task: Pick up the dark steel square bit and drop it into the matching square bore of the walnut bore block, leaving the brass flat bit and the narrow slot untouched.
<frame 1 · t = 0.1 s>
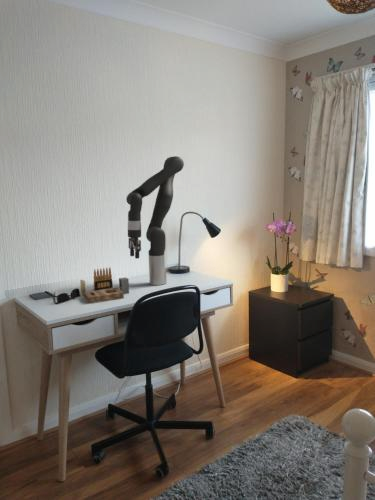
hand: (134, 257, 230), 17 cm above the table, tool pointing down, fingers open, 8 cm apart
square bit: (124, 293, 220), on the table
ammunition clip: (103, 289, 230), on the table
flat bit: (83, 295, 217), on the table
sunglasses: (60, 299, 212), on the table
bore block: (103, 298, 211), on the table
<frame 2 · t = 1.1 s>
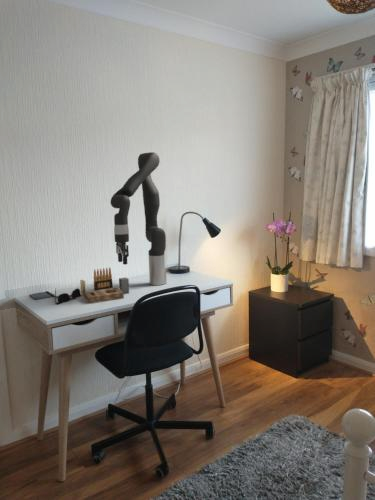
hand: (122, 263, 217), 17 cm above the table, tool pointing down, fingers open, 8 cm apart
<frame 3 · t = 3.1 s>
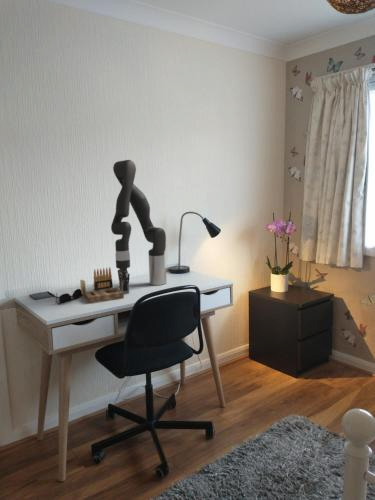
hand: (124, 289, 219), 2 cm above the table, tool pointing down, fingers closed on square bit, 4 cm apart
square bit: (124, 293, 220), on the table, touching gripper
sunglasses: (62, 300, 211), on the table
everything else where it was.
when the fingers open (4 cm above the table, at t = 7.9 s): square bit drops 2 cm, resting in bore block.
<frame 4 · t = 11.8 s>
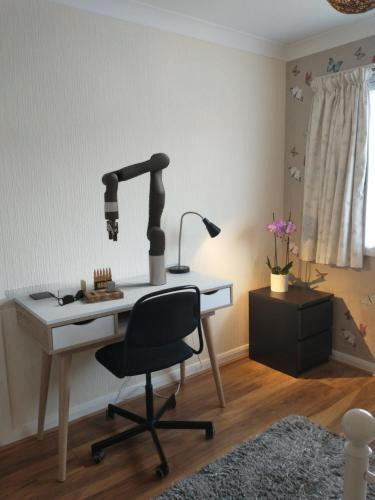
hand: (113, 240, 221), 28 cm above the table, tool pointing down, fingers open, 8 cm apart
square bit: (111, 297, 212), resting in bore block
sunglasses: (65, 301, 208), on the table
everything else where it was.
at the end: square bit 0.1 cm from the target spot on the bore block, point 0.0 cm above the bore block's base; square bit tilted 0°; the gripper is holding nothing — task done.
